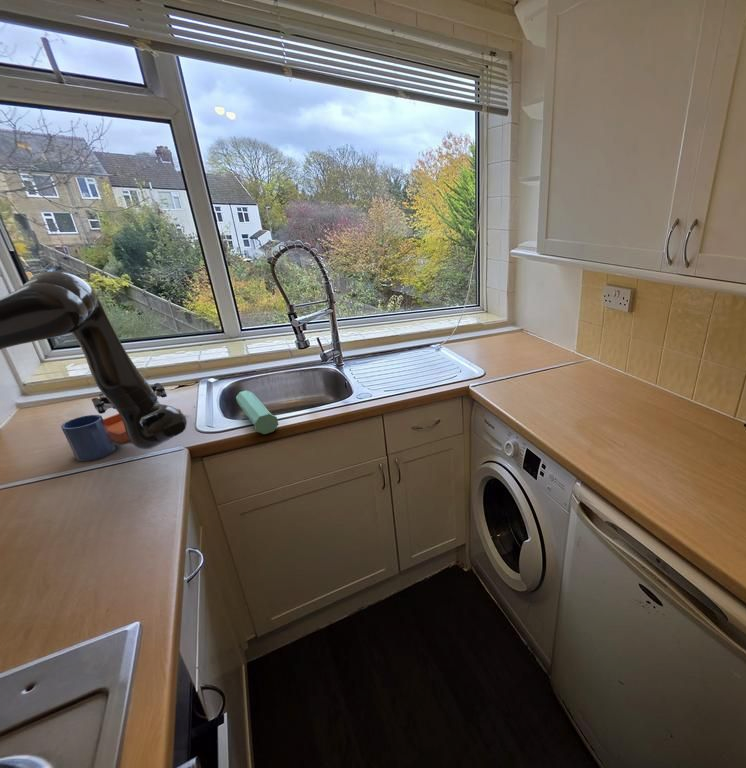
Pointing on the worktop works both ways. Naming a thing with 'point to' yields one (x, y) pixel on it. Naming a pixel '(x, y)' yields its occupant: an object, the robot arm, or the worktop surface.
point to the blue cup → (88, 437)
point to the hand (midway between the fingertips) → (124, 390)
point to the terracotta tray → (117, 428)
